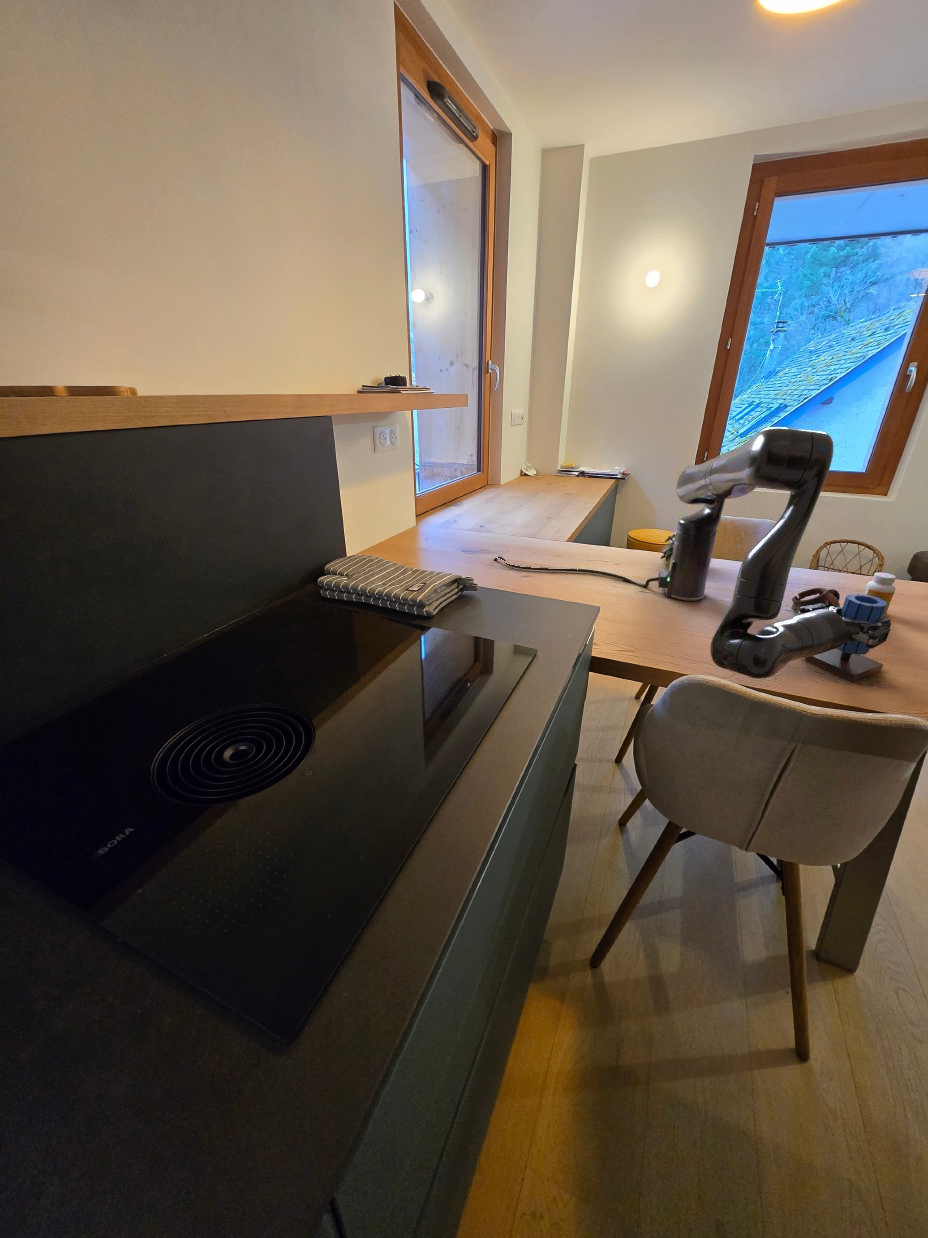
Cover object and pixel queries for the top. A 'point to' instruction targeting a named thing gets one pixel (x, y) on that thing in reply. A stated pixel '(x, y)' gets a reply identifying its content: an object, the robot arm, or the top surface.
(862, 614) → the fluted pencil holder
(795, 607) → the brown curved piece
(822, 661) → the stand
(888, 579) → the supplement bottle
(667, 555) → the passion flower
